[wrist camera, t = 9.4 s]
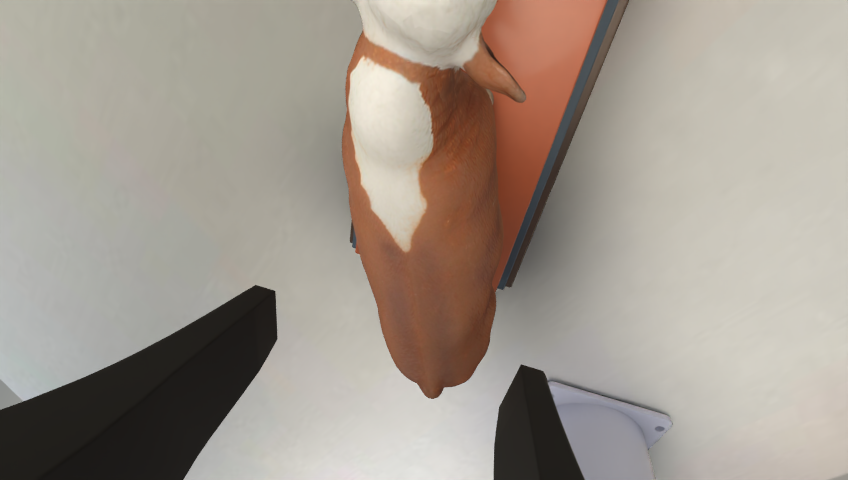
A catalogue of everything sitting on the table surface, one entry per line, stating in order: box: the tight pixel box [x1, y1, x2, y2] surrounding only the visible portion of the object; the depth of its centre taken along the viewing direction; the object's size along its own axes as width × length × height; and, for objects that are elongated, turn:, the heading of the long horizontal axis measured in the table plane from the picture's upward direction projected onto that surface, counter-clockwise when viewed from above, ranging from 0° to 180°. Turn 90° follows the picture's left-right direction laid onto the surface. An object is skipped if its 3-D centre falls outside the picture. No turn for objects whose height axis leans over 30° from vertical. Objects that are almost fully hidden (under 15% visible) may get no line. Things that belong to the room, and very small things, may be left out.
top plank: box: [355, 0, 608, 292], centre depth 15 cm, size 14×7×1 cm, turn 169°
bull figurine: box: [342, 0, 526, 399], centre depth 12 cm, size 4×13×8 cm, turn 0°
